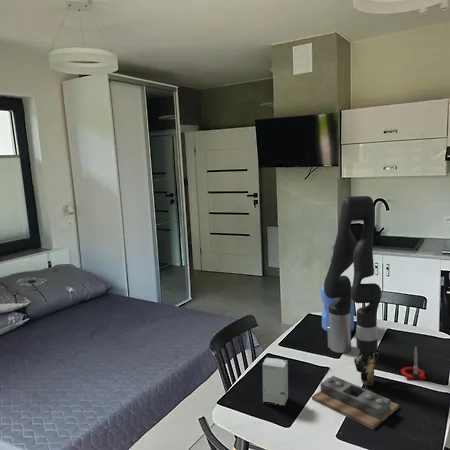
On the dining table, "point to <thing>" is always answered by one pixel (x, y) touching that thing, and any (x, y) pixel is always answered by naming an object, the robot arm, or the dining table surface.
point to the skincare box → (275, 381)
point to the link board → (354, 402)
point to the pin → (369, 373)
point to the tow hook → (414, 370)
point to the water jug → (325, 314)
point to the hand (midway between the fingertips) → (367, 378)
